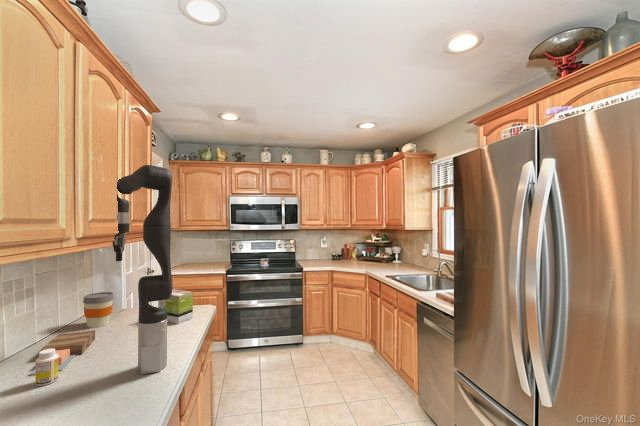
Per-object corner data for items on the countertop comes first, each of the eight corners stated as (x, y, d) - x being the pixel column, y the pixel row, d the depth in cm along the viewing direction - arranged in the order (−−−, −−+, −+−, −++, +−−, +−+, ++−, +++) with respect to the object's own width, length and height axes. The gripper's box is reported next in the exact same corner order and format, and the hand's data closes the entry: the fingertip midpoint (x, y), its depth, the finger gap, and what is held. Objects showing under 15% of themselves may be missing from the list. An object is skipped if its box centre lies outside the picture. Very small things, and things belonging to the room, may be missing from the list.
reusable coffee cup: (85, 322, 154) (86, 293, 155) (114, 318, 160) (115, 290, 161) (79, 330, 143) (80, 299, 144) (111, 326, 149) (112, 296, 150)
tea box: (157, 320, 158) (157, 292, 158) (173, 315, 167) (173, 288, 168) (178, 324, 152) (178, 295, 152) (193, 318, 161) (193, 291, 162)
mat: (61, 371, 106) (61, 369, 106) (28, 375, 102) (28, 374, 102) (75, 355, 118) (75, 354, 118) (46, 359, 114) (46, 358, 114)
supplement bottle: (52, 376, 102) (53, 346, 102) (61, 379, 100) (62, 349, 100) (31, 384, 97) (32, 352, 97) (40, 388, 95) (41, 356, 95)
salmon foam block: (61, 364, 109) (61, 357, 109) (40, 367, 107) (40, 360, 107) (70, 355, 117) (70, 348, 117) (50, 357, 114) (51, 351, 115)
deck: (81, 354, 118) (82, 344, 118) (40, 360, 113) (40, 349, 114) (94, 339, 133) (95, 330, 133) (58, 343, 128) (58, 334, 128)
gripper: (126, 222, 129) (125, 262, 129) (132, 222, 142) (131, 258, 141) (105, 222, 126) (104, 263, 126) (113, 222, 139) (113, 259, 138)
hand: (119, 261), depth 134 cm, fingers closed
